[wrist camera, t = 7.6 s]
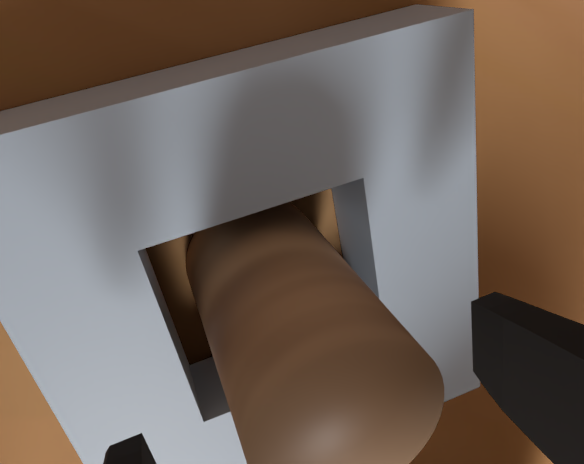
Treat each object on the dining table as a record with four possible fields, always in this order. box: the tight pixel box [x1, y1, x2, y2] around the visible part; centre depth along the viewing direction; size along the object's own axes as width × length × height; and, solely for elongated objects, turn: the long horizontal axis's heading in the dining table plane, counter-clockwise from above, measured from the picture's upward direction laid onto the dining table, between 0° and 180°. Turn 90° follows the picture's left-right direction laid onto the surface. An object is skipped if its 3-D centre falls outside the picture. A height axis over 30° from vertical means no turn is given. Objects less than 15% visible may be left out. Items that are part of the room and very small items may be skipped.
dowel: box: [186, 202, 444, 464], centre depth 13 cm, size 4×4×7 cm
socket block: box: [0, 4, 480, 464], centre depth 15 cm, size 12×12×2 cm
